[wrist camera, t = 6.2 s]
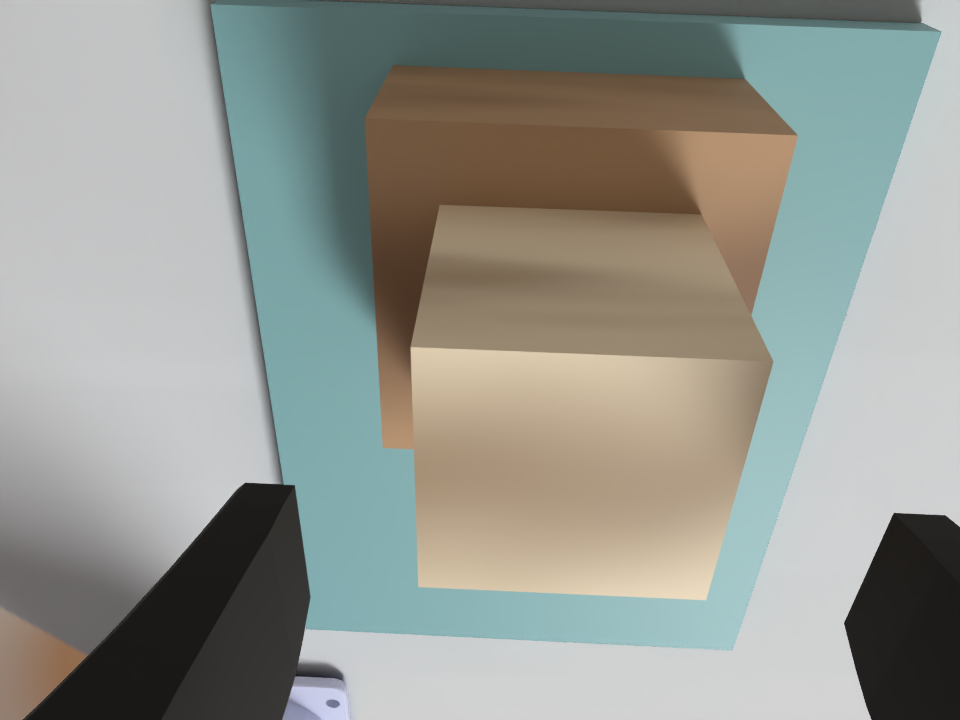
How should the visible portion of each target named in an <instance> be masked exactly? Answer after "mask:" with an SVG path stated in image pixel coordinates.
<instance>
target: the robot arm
mask: <svg viewBox="0 0 960 720" xmlns="http://www.w3.org/2000/svg"><path fill="white" fill-rule="evenodd" d="M310 598H311V596H310V589H309V582H308V575H307V568H306V561H305V554H304V546H303V539H302V532H301V525H300V518H299V511H298V504H297V497H296V490H295V485H280V484H259V483H244V484H243V485H242V486H241V487H239V488H238V489H237V490H236V491H235V493H234V494H233V495H232V496H231V497H230V499H229V500H228V501H227V502H226V503H225V505H224V506H223V507H222V508H221V509H220V510H219V512H218V513H217V514H216V515H215V516H214V518H213V519H212V520H211V521H210V522H209V524H208V525H207V526H206V527H205V528H204V530H203V531H202V532H201V533H200V534H199V535H198V537H197V538H196V539H195V540H194V541H193V542H192V544H191V545H190V546H189V547H188V548H187V549H186V550H185V552H184V553H183V554H182V555H181V556H180V557H179V558H178V560H177V561H176V562H175V563H174V564H173V565H172V566H171V568H170V569H169V570H168V571H167V572H166V573H165V574H164V576H163V577H162V578H161V579H160V580H159V581H158V582H157V583H156V584H155V585H154V586H153V588H152V589H151V590H150V591H149V592H148V593H147V594H146V595H145V596H144V597H143V598H142V600H141V601H140V602H139V603H138V604H137V605H136V606H135V607H134V608H133V609H132V610H131V611H130V613H129V614H128V615H127V616H126V617H125V618H124V619H123V620H122V621H121V622H120V623H119V625H118V626H117V627H116V628H115V629H114V630H113V631H112V632H111V633H110V634H109V635H108V636H107V637H106V638H105V639H104V640H103V641H102V642H101V643H100V644H99V645H98V646H97V647H96V648H95V649H94V650H93V651H92V652H91V653H90V654H89V655H88V656H87V657H86V658H85V659H84V660H83V661H82V662H81V663H80V664H79V665H78V666H77V667H76V668H75V669H74V670H73V671H72V672H71V673H70V674H69V675H68V676H67V677H66V678H65V679H64V680H63V681H62V682H61V683H60V684H59V685H58V686H57V687H56V688H55V689H54V690H53V691H52V692H51V693H50V694H49V695H48V696H47V697H46V698H45V699H44V700H43V701H42V702H41V703H40V704H39V705H38V706H37V707H36V708H35V709H34V710H33V711H32V712H30V713H29V715H27V716H26V717H25V718H24V719H23V720H351V717H350V708H349V699H348V690H347V686H346V684H345V683H344V682H343V681H341V680H339V679H335V678H321V677H301V676H295V675H296V671H297V666H298V661H299V656H300V651H301V646H302V641H303V636H304V630H305V625H306V620H307V614H308V609H309V604H310ZM844 625H845V629H846V632H847V636H848V640H849V644H850V648H851V652H852V656H853V660H854V664H855V668H856V672H857V675H858V679H859V682H860V685H861V689H862V692H863V696H864V699H865V703H866V706H867V709H868V711H869V714H870V717H871V719H872V720H960V527H959V526H958V525H957V524H955V523H954V522H953V521H952V520H950V519H949V518H948V517H947V516H945V515H924V514H902V513H894V514H893V516H892V518H891V521H890V523H889V525H888V527H887V529H886V532H885V534H884V536H883V538H882V540H881V543H880V545H879V547H878V549H877V552H876V554H875V556H874V558H873V560H872V563H871V565H870V567H869V569H868V571H867V574H866V576H865V578H864V580H863V583H862V585H861V587H860V589H859V591H858V594H857V596H856V598H855V600H854V603H853V605H852V607H851V609H850V611H849V614H848V616H847V618H846V620H845V622H844Z"/></svg>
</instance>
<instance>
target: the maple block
mask: <svg viewBox="0 0 960 720" xmlns="http://www.w3.org/2000/svg"><path fill="white" fill-rule="evenodd" d="M773 362H774V361H773V359H772V357H771V355H770V353H769V351H768V349H767V347H766V345H765V343H764V341H763V339H762V337H761V335H760V333H759V331H758V329H757V327H756V325H755V322H754V320H753V318H752V316H751V314H750V312H749V310H748V308H747V306H746V304H745V302H744V300H743V298H742V296H741V294H740V292H739V290H738V288H737V286H736V284H735V282H734V279H733V277H732V275H731V273H730V271H729V269H728V267H727V265H726V263H725V261H724V259H723V257H722V255H721V253H720V251H719V249H718V247H717V245H716V243H715V241H714V239H713V236H712V234H711V232H710V230H709V228H708V226H707V224H706V222H705V220H704V218H703V216H702V214H677V213H650V212H623V211H595V210H568V209H541V208H513V207H486V206H459V205H440V206H439V211H438V215H437V220H436V225H435V230H434V235H433V240H432V245H431V250H430V254H429V259H428V264H427V269H426V274H425V279H424V284H423V289H422V294H421V298H420V303H419V308H418V313H417V318H416V323H415V328H414V333H413V337H412V342H411V377H412V408H413V439H414V470H415V501H416V532H417V563H418V587H426V588H448V589H470V590H492V591H514V592H536V593H558V594H580V595H601V596H623V597H645V598H667V599H689V600H706V599H707V596H708V592H709V589H710V585H711V581H712V578H713V574H714V571H715V567H716V564H717V560H718V557H719V553H720V550H721V546H722V542H723V539H724V535H725V532H726V528H727V525H728V521H729V518H730V514H731V511H732V507H733V504H734V500H735V496H736V493H737V489H738V486H739V482H740V479H741V475H742V472H743V468H744V465H745V461H746V458H747V454H748V450H749V447H750V443H751V440H752V436H753V433H754V429H755V426H756V422H757V419H758V415H759V412H760V408H761V404H762V401H763V397H764V394H765V390H766V387H767V383H768V380H769V376H770V373H771V369H772V366H773Z"/></svg>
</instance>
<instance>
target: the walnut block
mask: <svg viewBox="0 0 960 720" xmlns="http://www.w3.org/2000/svg"><path fill="white" fill-rule="evenodd" d="M365 133H366V152H367V170H368V188H369V206H370V225H371V243H372V261H373V279H374V298H375V316H376V334H377V353H378V371H379V389H380V407H381V426H382V444H383V448H394V449H414V439H413V408H412V377H411V342H412V337H413V333H414V328H415V323H416V318H417V313H418V308H419V303H420V298H421V294H422V289H423V284H424V279H425V274H426V269H427V264H428V259H429V254H430V250H431V245H432V240H433V235H434V230H435V225H436V220H437V215H438V211H439V206H440V205H459V206H486V207H513V208H541V209H568V210H595V211H623V212H650V213H677V214H702V216H703V218H704V220H705V222H706V224H707V226H708V228H709V230H710V232H711V234H712V236H713V239H714V241H715V243H716V245H717V247H718V249H719V251H720V253H721V255H722V257H723V259H724V261H725V263H726V265H727V267H728V269H729V271H730V273H731V275H732V277H733V279H734V282H735V284H736V286H737V288H738V290H739V292H740V294H741V296H742V298H743V300H744V302H745V304H746V306H747V308H748V310H749V312H750V314H751V315H752V311H753V308H754V304H755V300H756V296H757V292H758V288H759V284H760V281H761V277H762V273H763V269H764V265H765V261H766V257H767V254H768V250H769V246H770V242H771V238H772V234H773V230H774V227H775V223H776V219H777V215H778V211H779V207H780V203H781V200H782V196H783V192H784V188H785V184H786V180H787V176H788V173H789V169H790V165H791V161H792V157H793V153H794V149H795V146H796V142H797V138H798V135H797V134H796V133H795V132H794V131H793V129H792V128H791V127H790V126H789V125H788V124H787V123H786V122H785V121H784V120H783V119H782V118H781V117H780V116H779V114H778V113H777V112H776V111H775V110H774V109H773V108H772V107H771V106H770V105H769V104H768V103H767V102H766V101H765V100H764V98H763V97H762V96H761V95H760V94H759V93H758V92H757V91H756V90H755V89H754V88H753V87H752V86H751V85H750V83H749V82H748V81H747V80H746V79H737V78H711V77H685V76H659V75H633V74H607V73H581V72H556V71H530V70H504V69H478V68H452V67H426V66H400V65H393V66H392V68H391V70H390V71H389V73H388V75H387V77H386V79H385V81H384V83H383V85H382V87H381V88H380V90H379V92H378V94H377V96H376V98H375V100H374V102H373V104H372V105H371V107H370V109H369V111H368V113H367V115H366V117H365Z"/></svg>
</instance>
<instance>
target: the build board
mask: <svg viewBox="0 0 960 720" xmlns="http://www.w3.org/2000/svg"><path fill="white" fill-rule="evenodd" d="M210 6H211V13H212V19H213V26H214V32H215V39H216V45H217V52H218V58H219V65H220V72H221V78H222V85H223V91H224V98H225V104H226V111H227V117H228V124H229V130H230V137H231V143H232V150H233V156H234V163H235V170H236V176H237V183H238V189H239V196H240V202H241V209H242V215H243V222H244V228H245V235H246V241H247V248H248V255H249V261H250V268H251V274H252V281H253V287H254V294H255V300H256V307H257V313H258V320H259V326H260V333H261V340H262V346H263V353H264V359H265V366H266V372H267V379H268V385H269V392H270V398H271V405H272V411H273V418H274V425H275V431H276V438H277V444H278V451H279V457H280V464H281V470H282V477H283V483H284V485H295V490H296V497H297V504H298V511H299V518H300V525H301V532H302V539H303V546H304V554H305V561H306V568H307V575H308V582H309V589H310V596H311V598H310V604H309V609H308V614H307V620H306V625H305V627H306V629H314V630H334V631H354V632H374V633H394V634H414V635H434V636H454V637H474V638H494V639H514V640H534V641H553V642H573V643H593V644H613V645H633V646H653V647H673V648H693V649H713V650H733V647H734V644H735V641H736V638H737V635H738V632H739V629H740V627H741V624H742V621H743V618H744V615H745V612H746V609H747V606H748V603H749V600H750V597H751V594H752V591H753V588H754V585H755V582H756V579H757V576H758V573H759V570H760V567H761V564H762V561H763V558H764V555H765V553H766V550H767V547H768V544H769V541H770V538H771V535H772V532H773V529H774V526H775V523H776V520H777V517H778V514H779V511H780V508H781V505H782V502H783V499H784V496H785V493H786V490H787V487H788V484H789V481H790V479H791V476H792V473H793V470H794V467H795V464H796V461H797V458H798V455H799V452H800V449H801V446H802V443H803V440H804V437H805V434H806V431H807V428H808V425H809V422H810V419H811V416H812V413H813V410H814V407H815V405H816V402H817V399H818V396H819V393H820V390H821V387H822V384H823V381H824V378H825V375H826V372H827V369H828V366H829V363H830V360H831V357H832V354H833V351H834V348H835V345H836V342H837V339H838V336H839V333H840V331H841V328H842V325H843V322H844V319H845V316H846V313H847V310H848V307H849V304H850V301H851V298H852V295H853V292H854V289H855V286H856V283H857V280H858V277H859V274H860V271H861V268H862V265H863V262H864V259H865V257H866V254H867V251H868V248H869V245H870V242H871V239H872V236H873V233H874V230H875V227H876V224H877V221H878V218H879V215H880V212H881V209H882V206H883V203H884V200H885V197H886V194H887V191H888V188H889V186H890V183H891V180H892V177H893V174H894V171H895V168H896V165H897V162H898V159H899V156H900V153H901V150H902V147H903V144H904V141H905V138H906V135H907V132H908V129H909V126H910V123H911V120H912V117H913V114H914V112H915V109H916V106H917V103H918V100H919V97H920V94H921V91H922V88H923V85H924V82H925V79H926V76H927V73H928V70H929V67H930V64H931V61H932V58H933V55H934V52H935V49H936V46H937V43H938V40H939V38H940V35H941V31H939V30H936V29H934V28H932V27H930V26H928V25H926V24H924V23H901V22H874V21H847V20H821V19H794V18H767V17H740V16H714V15H687V14H660V13H633V12H606V11H580V10H553V9H526V8H499V7H473V6H446V5H419V4H392V3H366V2H339V1H312V0H217V1H215V2H214V3H212V4H210ZM393 65H400V66H426V67H452V68H478V69H504V70H530V71H556V72H581V73H607V74H633V75H659V76H685V77H711V78H737V79H746V80H747V81H748V82H749V83H750V85H751V86H752V87H753V88H754V89H755V90H756V91H757V92H758V93H759V94H760V95H761V96H762V97H763V98H764V100H765V101H766V102H767V103H768V104H769V105H770V106H771V107H772V108H773V109H774V110H775V111H776V112H777V113H778V114H779V116H780V117H781V118H782V119H783V120H784V121H785V122H786V123H787V124H788V125H789V126H790V127H791V128H792V129H793V131H794V132H795V133H796V134H797V135H798V138H797V142H796V146H795V149H794V153H793V157H792V161H791V165H790V169H789V173H788V176H787V180H786V184H785V188H784V192H783V196H782V200H781V203H780V207H779V211H778V215H777V219H776V223H775V227H774V230H773V234H772V238H771V242H770V246H769V250H768V254H767V257H766V261H765V265H764V269H763V273H762V277H761V281H760V284H759V288H758V292H757V296H756V300H755V304H754V308H753V311H752V315H751V316H752V318H753V320H754V322H755V325H756V327H757V329H758V331H759V333H760V335H761V337H762V339H763V341H764V343H765V345H766V347H767V349H768V351H769V353H770V355H771V357H772V359H773V361H774V362H773V366H772V369H771V373H770V376H769V380H768V383H767V387H766V390H765V394H764V397H763V401H762V404H761V408H760V412H759V415H758V419H757V422H756V426H755V429H754V433H753V436H752V440H751V443H750V447H749V450H748V454H747V458H746V461H745V465H744V468H743V472H742V475H741V479H740V482H739V486H738V489H737V493H736V496H735V500H734V504H733V507H732V511H731V514H730V518H729V521H728V525H727V528H726V532H725V535H724V539H723V542H722V546H721V550H720V553H719V557H718V560H717V564H716V567H715V571H714V574H713V578H712V581H711V585H710V589H709V592H708V596H707V599H706V600H689V599H667V598H645V597H623V596H601V595H580V594H558V593H536V592H514V591H492V590H470V589H448V588H426V587H418V563H417V532H416V501H415V470H414V449H394V448H383V444H382V426H381V407H380V389H379V371H378V353H377V334H376V316H375V298H374V279H373V261H372V243H371V225H370V206H369V188H368V170H367V152H366V133H365V117H366V115H367V113H368V111H369V109H370V107H371V105H372V104H373V102H374V100H375V98H376V96H377V94H378V92H379V90H380V88H381V87H382V85H383V83H384V81H385V79H386V77H387V75H388V73H389V71H390V70H391V68H392V66H393Z"/></svg>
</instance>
